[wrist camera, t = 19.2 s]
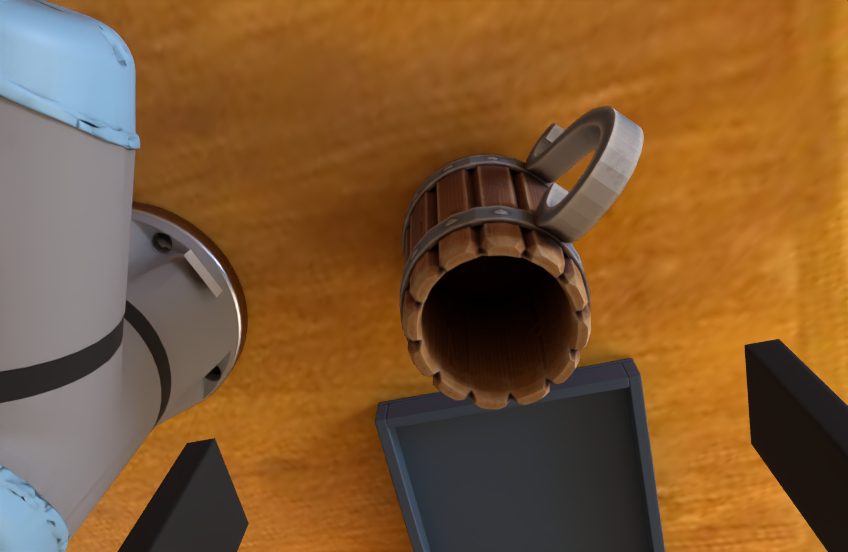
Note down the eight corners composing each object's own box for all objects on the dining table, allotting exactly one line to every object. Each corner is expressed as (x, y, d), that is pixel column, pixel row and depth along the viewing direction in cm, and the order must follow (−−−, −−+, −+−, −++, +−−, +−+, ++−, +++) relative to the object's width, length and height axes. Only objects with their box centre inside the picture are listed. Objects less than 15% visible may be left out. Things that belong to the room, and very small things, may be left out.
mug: (506, 334, 45) (525, 471, 31) (373, 254, 44) (332, 361, 30) (652, 141, 40) (754, 202, 26) (509, 42, 39) (536, 52, 25)
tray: (443, 624, 55) (442, 649, 53) (378, 402, 48) (374, 421, 46) (665, 595, 53) (674, 620, 50) (632, 357, 46) (640, 375, 43)
